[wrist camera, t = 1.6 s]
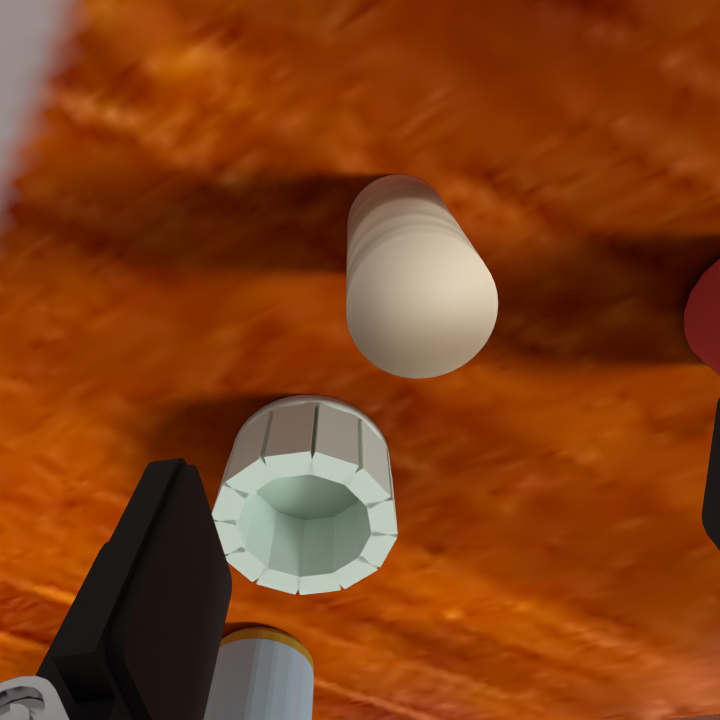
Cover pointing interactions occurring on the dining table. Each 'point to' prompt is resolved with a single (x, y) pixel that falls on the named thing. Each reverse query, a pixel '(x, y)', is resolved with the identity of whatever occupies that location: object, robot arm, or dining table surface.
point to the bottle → (261, 677)
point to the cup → (307, 496)
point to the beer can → (705, 318)
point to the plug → (414, 281)
